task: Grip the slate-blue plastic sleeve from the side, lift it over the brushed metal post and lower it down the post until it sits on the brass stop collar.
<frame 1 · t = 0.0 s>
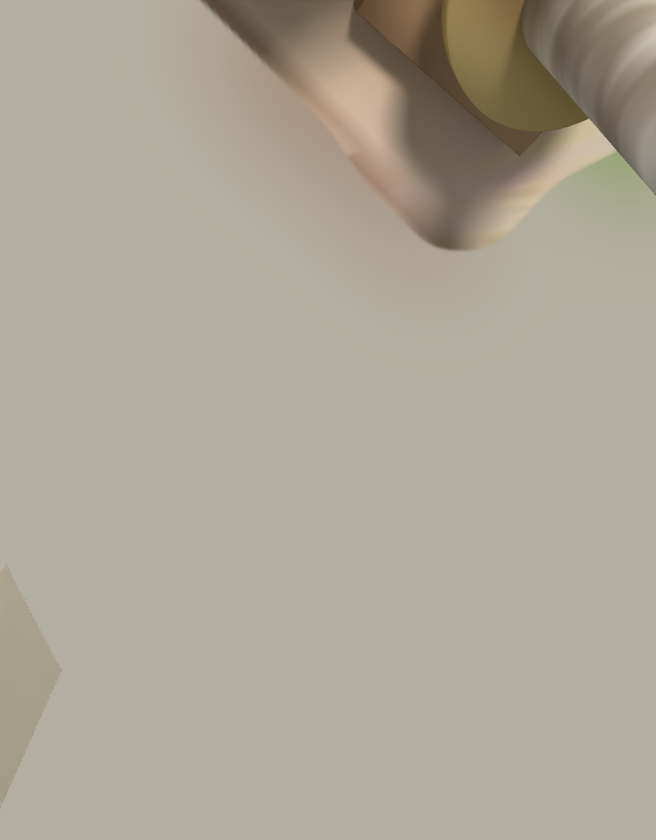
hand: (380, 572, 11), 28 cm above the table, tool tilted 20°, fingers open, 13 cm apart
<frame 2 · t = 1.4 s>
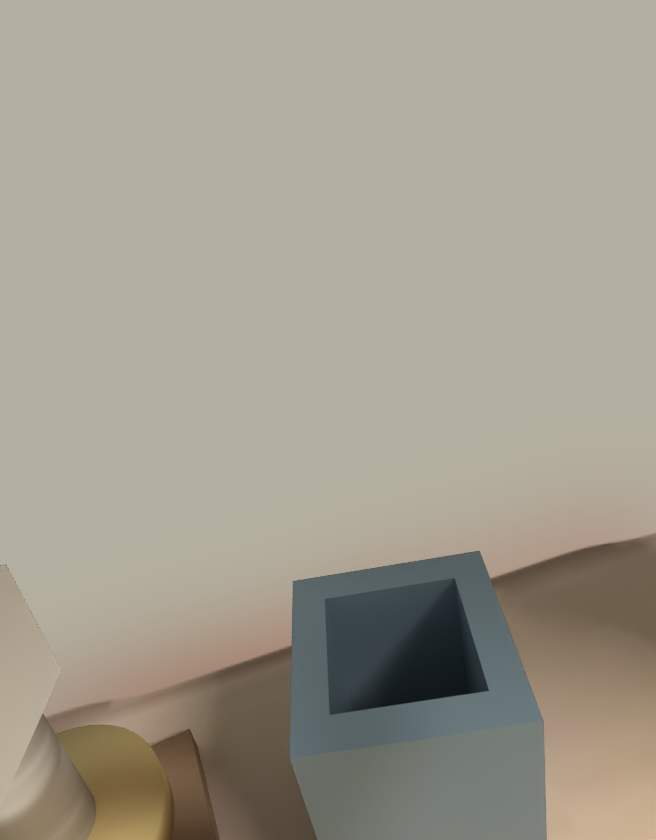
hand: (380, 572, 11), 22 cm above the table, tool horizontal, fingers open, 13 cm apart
sleeve: (427, 803, 30), on the table
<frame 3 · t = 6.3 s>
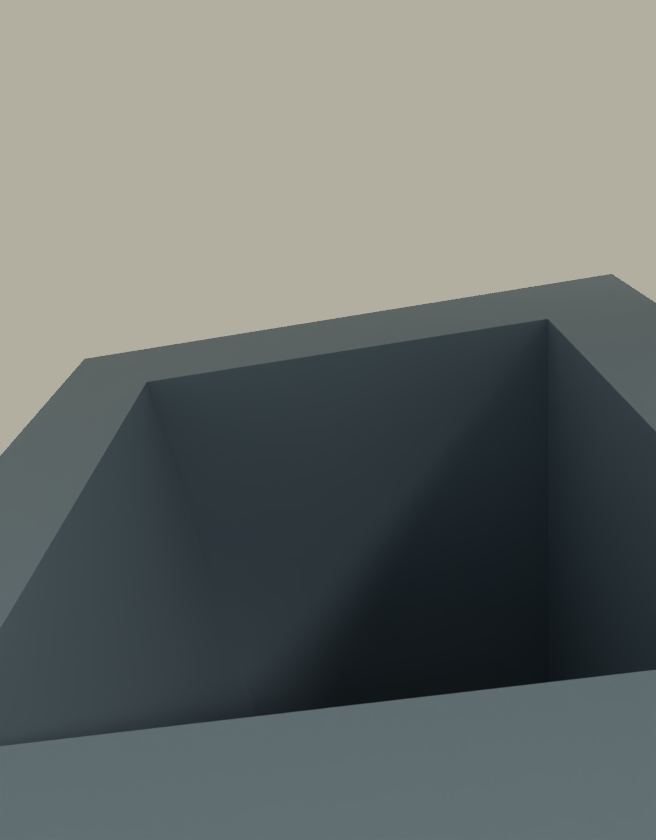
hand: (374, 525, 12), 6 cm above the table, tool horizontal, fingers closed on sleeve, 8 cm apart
when the fingers open (14 cm above the table, at t = 12.9 s): sleeve drops 1 cm, resting on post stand.
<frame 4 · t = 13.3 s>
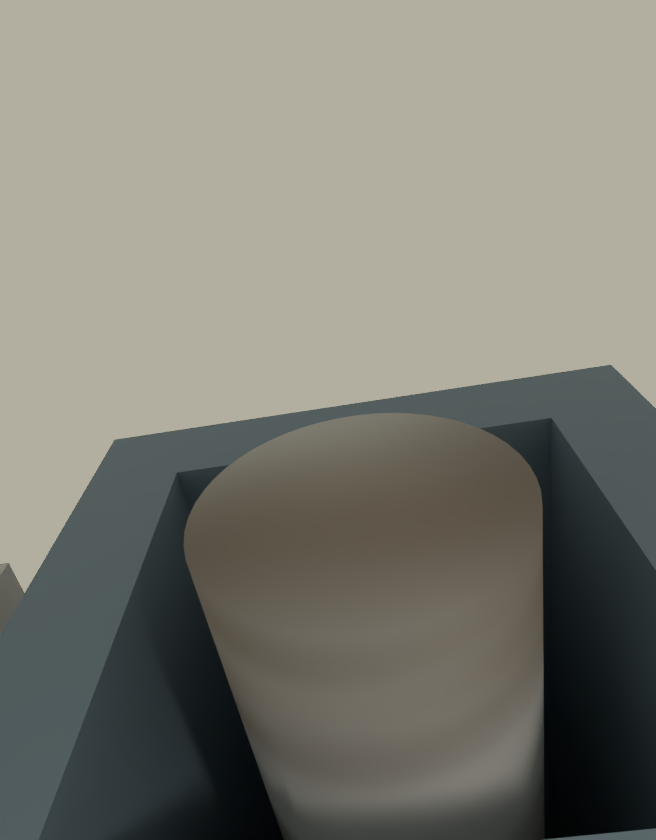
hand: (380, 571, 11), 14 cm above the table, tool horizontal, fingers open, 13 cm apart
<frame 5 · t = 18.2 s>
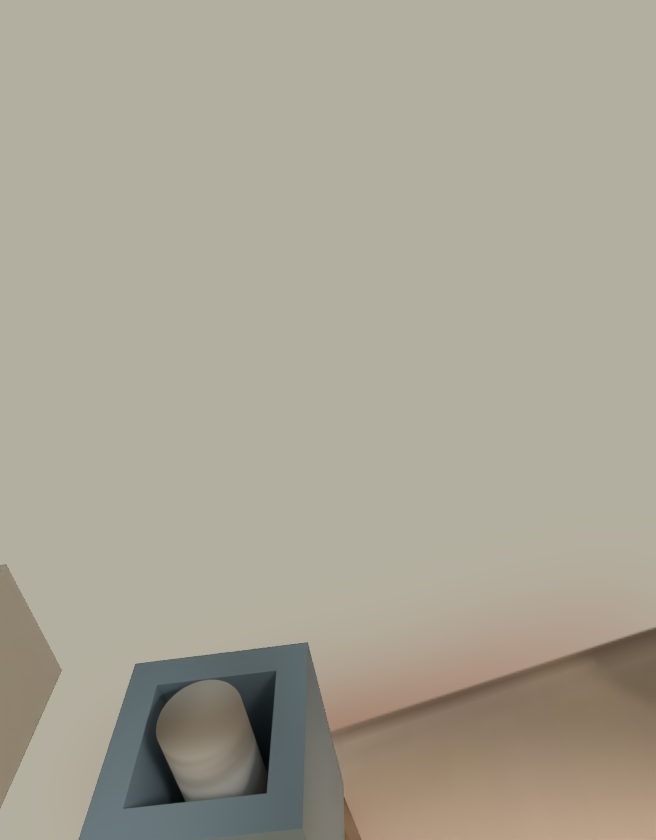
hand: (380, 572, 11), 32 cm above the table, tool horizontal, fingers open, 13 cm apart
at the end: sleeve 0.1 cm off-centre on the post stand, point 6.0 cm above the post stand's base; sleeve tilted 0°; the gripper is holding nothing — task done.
